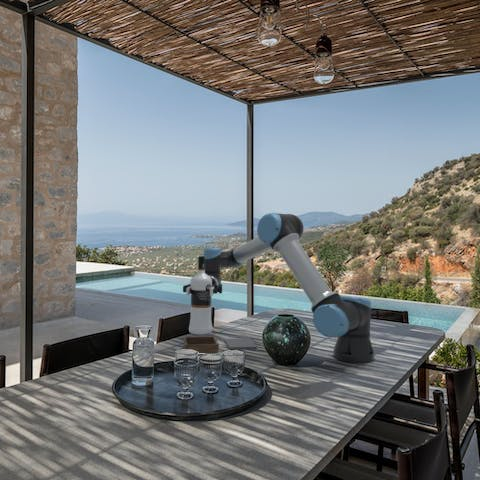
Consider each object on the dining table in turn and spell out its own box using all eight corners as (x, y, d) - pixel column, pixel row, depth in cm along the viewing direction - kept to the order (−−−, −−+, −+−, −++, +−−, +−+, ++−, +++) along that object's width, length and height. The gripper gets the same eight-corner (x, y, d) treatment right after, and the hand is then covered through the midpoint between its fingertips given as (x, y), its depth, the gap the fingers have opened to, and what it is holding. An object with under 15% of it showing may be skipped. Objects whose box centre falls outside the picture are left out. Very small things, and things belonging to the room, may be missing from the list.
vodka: (202, 329, 187) (203, 255, 187) (217, 333, 181) (218, 256, 180) (184, 332, 181) (184, 255, 180) (198, 336, 174) (199, 257, 174)
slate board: (256, 349, 185) (256, 346, 185) (229, 349, 183) (229, 347, 183) (249, 340, 199) (249, 338, 199) (224, 341, 197) (224, 338, 197)
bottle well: (218, 354, 176) (218, 344, 176) (185, 355, 174) (185, 345, 174) (214, 346, 188) (214, 336, 188) (183, 346, 186) (183, 337, 186)
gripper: (232, 294, 198) (226, 302, 175) (183, 293, 199) (171, 301, 177) (232, 276, 197) (226, 282, 175) (184, 275, 199) (171, 281, 177)
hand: (199, 292), depth 176 cm, fingers closed on vodka, 8 cm apart
